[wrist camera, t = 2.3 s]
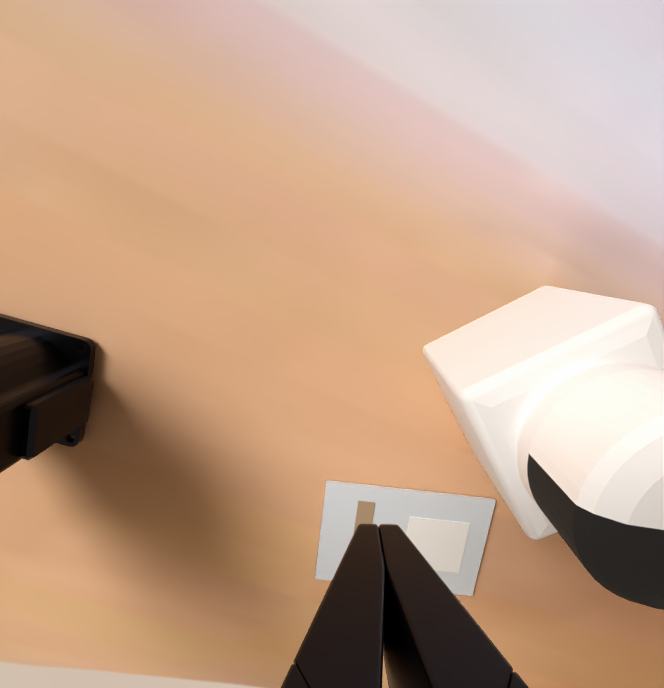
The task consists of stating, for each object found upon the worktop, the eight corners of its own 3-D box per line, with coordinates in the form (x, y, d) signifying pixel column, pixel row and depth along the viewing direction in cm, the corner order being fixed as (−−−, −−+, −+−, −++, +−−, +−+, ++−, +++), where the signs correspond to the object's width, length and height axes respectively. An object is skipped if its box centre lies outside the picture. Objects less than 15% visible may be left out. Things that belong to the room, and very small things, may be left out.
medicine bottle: (593, 397, 21) (914, 588, 9) (472, 452, 22) (622, 687, 10) (546, 282, 19) (856, 334, 8) (418, 346, 20) (522, 478, 9)
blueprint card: (315, 576, 24) (314, 579, 24) (326, 479, 22) (326, 482, 22) (471, 593, 24) (472, 597, 24) (494, 498, 22) (496, 501, 22)
